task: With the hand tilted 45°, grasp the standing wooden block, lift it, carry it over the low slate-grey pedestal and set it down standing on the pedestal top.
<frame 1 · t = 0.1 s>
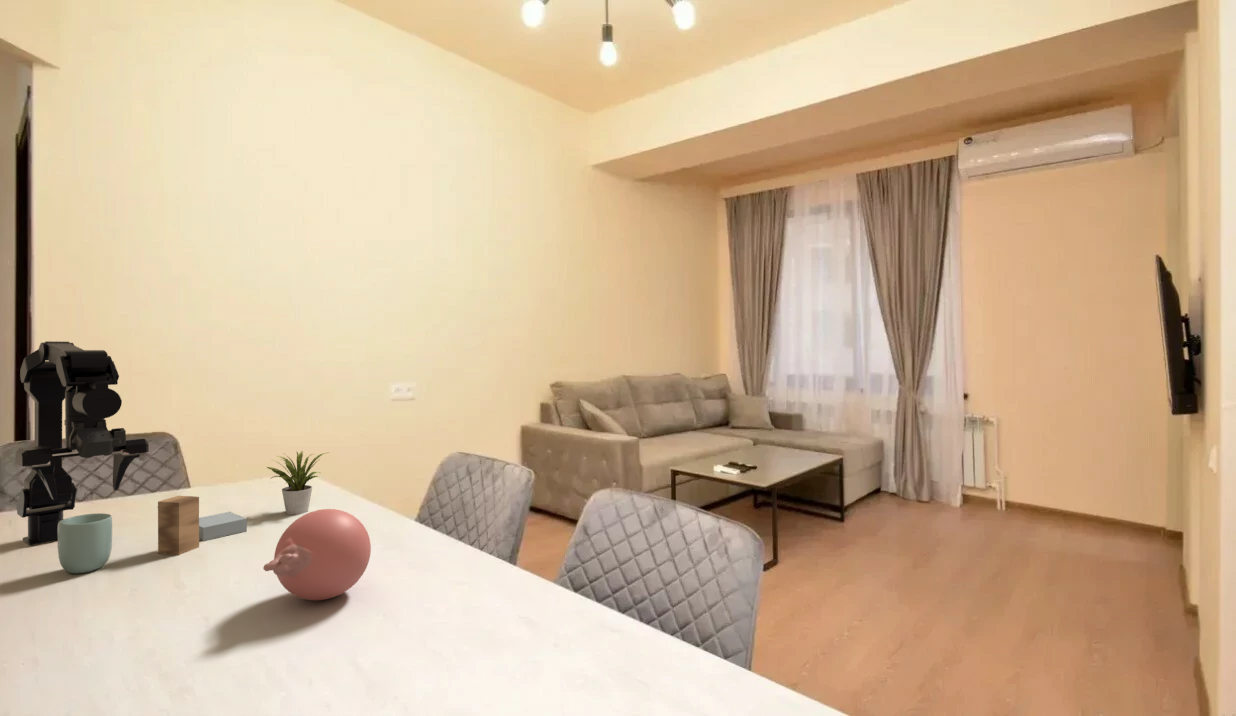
hand: (85, 494, 117), 15 cm above the table, tool pointing down, fingers open, 9 cm apart
pedestal: (217, 532, 141), on the table
wooden block: (178, 550, 129), on the table
cup: (85, 570, 117), on the table
balloon: (313, 602, 105), on the table
house plant: (300, 510, 160), on the table
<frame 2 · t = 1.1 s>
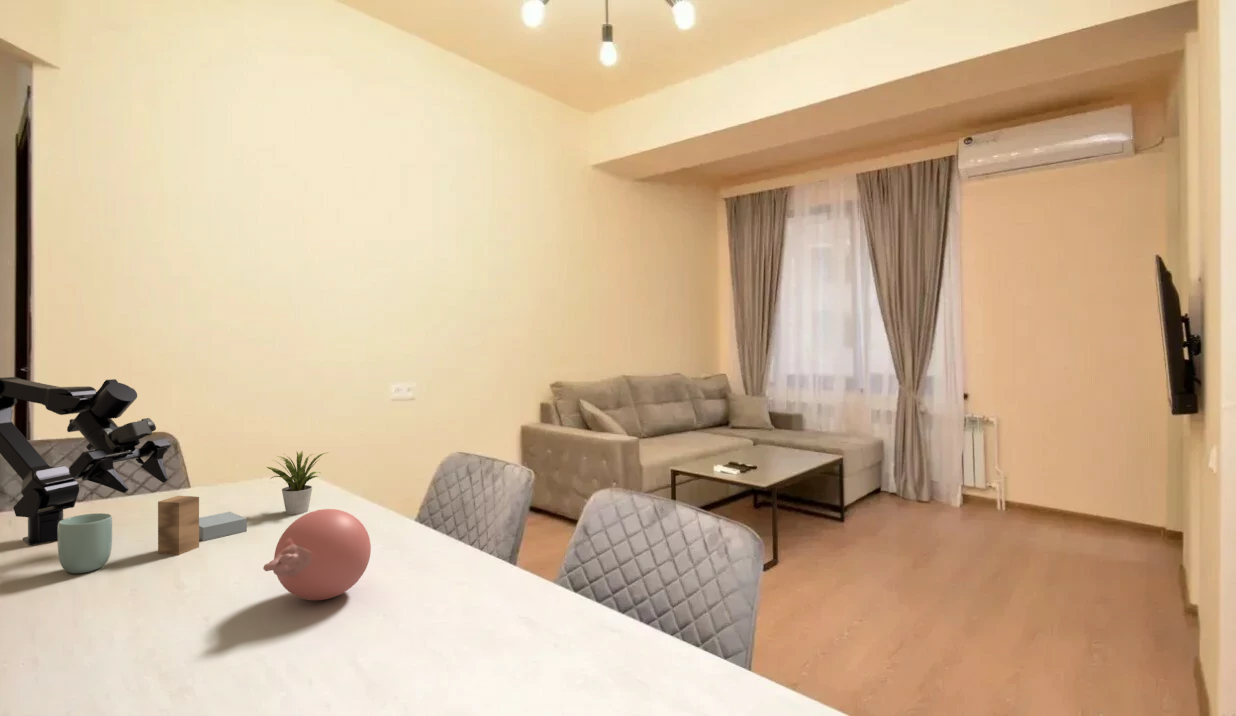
hand: (146, 486, 129), 13 cm above the table, tool tilted 45°, fingers open, 9 cm apart
nothing on the table moved.
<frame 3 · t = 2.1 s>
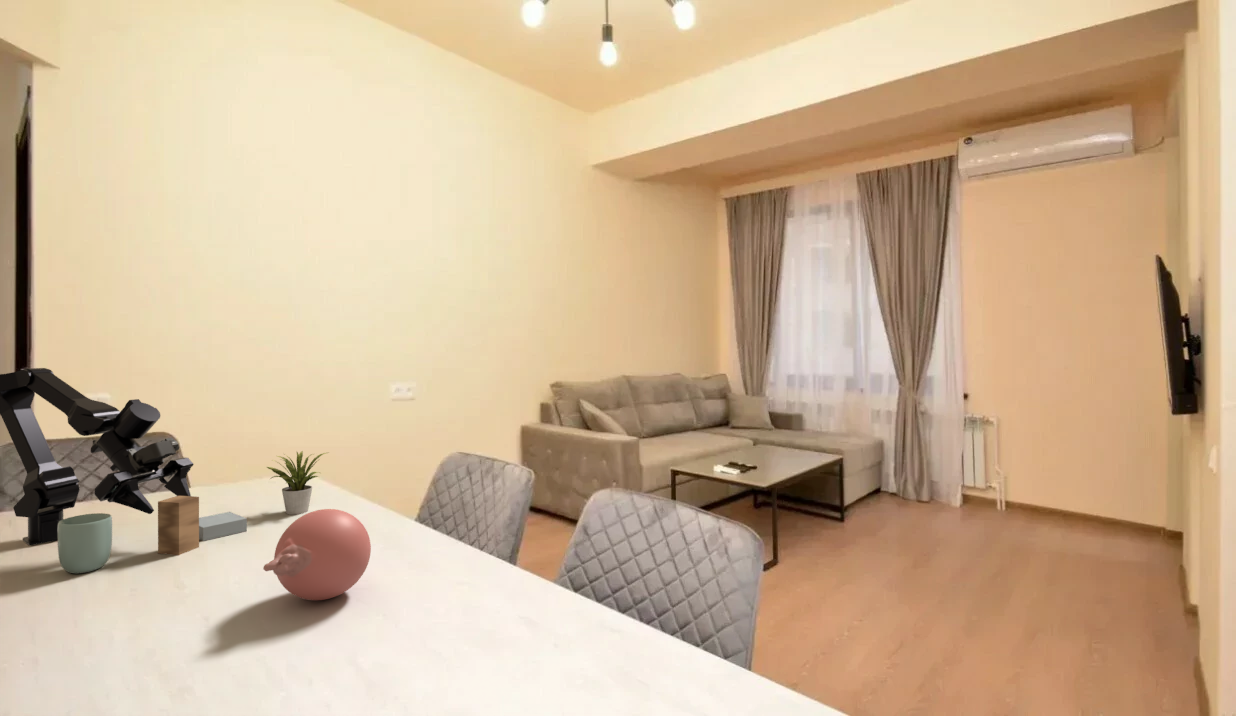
hand: (171, 506, 129), 9 cm above the table, tool tilted 45°, fingers open, 9 cm apart
nothing on the table moved.
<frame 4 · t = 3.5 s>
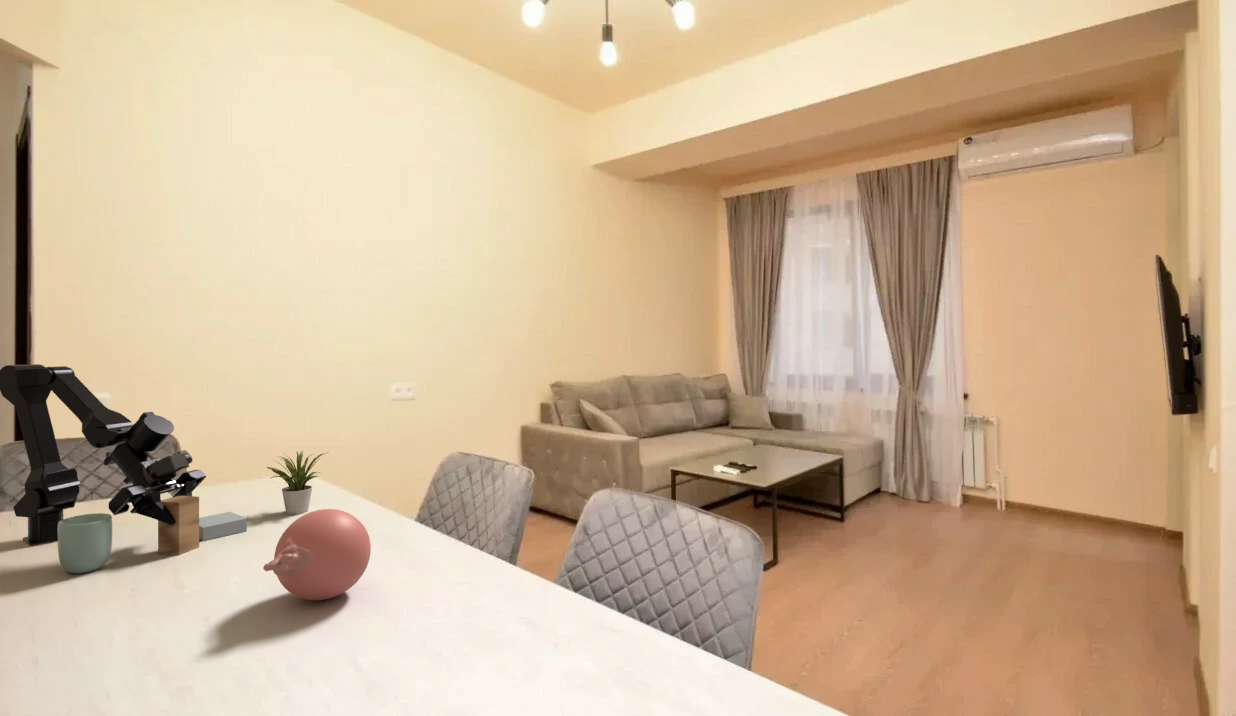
hand: (184, 519, 128), 7 cm above the table, tool tilted 45°, fingers closed on wooden block, 5 cm apart
wooden block: (178, 550, 129), on the table, touching gripper
everything else where it was.
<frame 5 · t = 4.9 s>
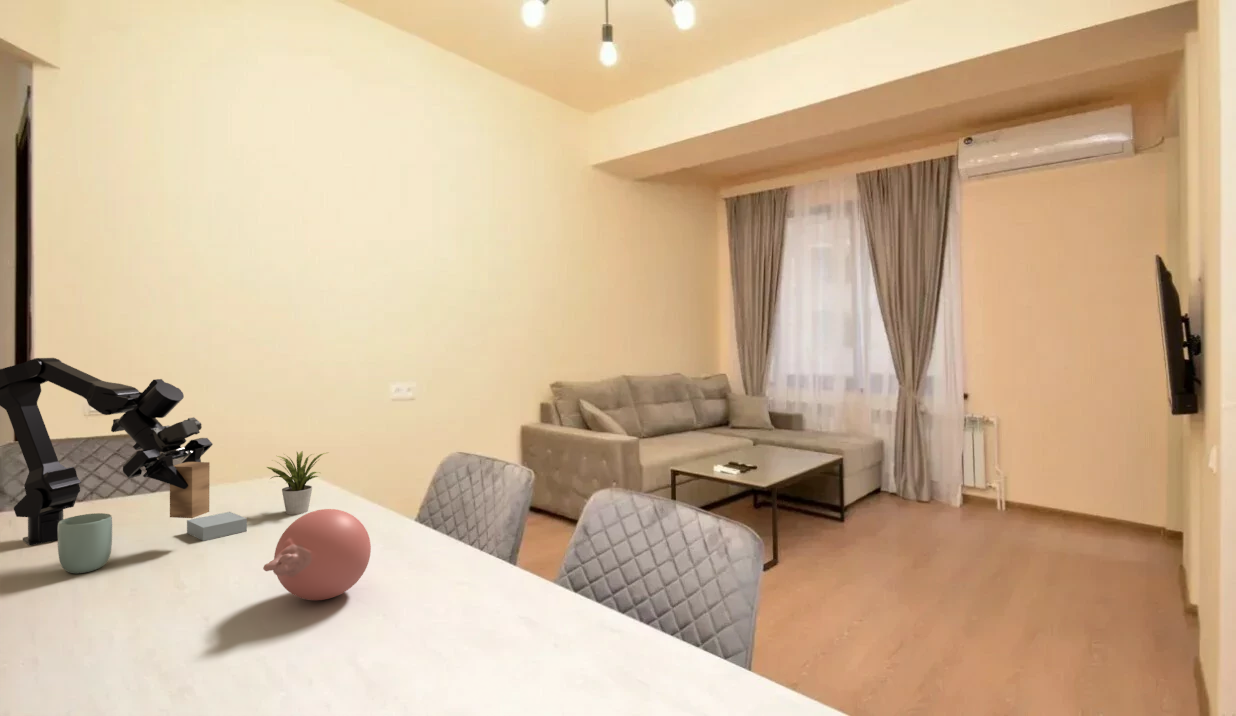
hand: (196, 484, 131), 13 cm above the table, tool tilted 45°, fingers closed on wooden block, 5 cm apart
wooden block: (189, 514, 131), point 7 cm above the table, touching gripper
everything else where it was.
when the fingers open (11 cm above the table, at t = 6.5 s): wooden block drops 1 cm, resting on pedestal.
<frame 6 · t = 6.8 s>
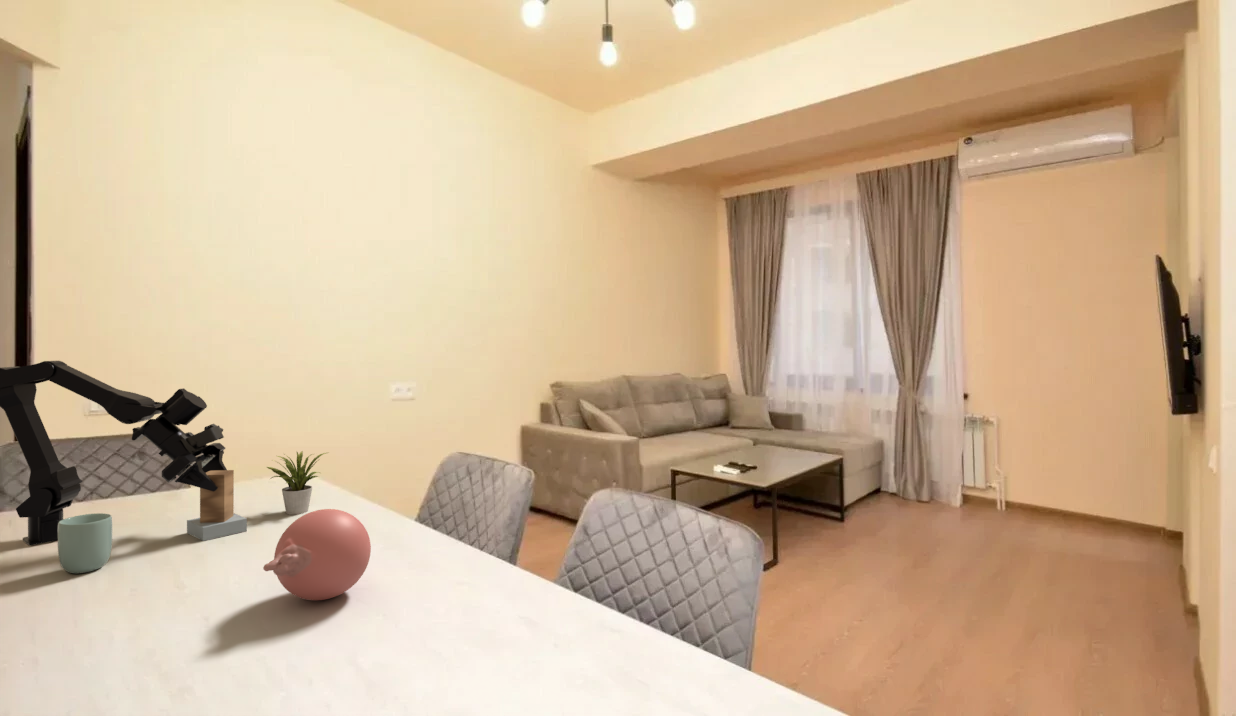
hand: (223, 485, 141), 11 cm above the table, tool tilted 45°, fingers open, 8 cm apart
wooden block: (217, 519, 141), point 3 cm above the table, touching pedestal
everything else where it was.
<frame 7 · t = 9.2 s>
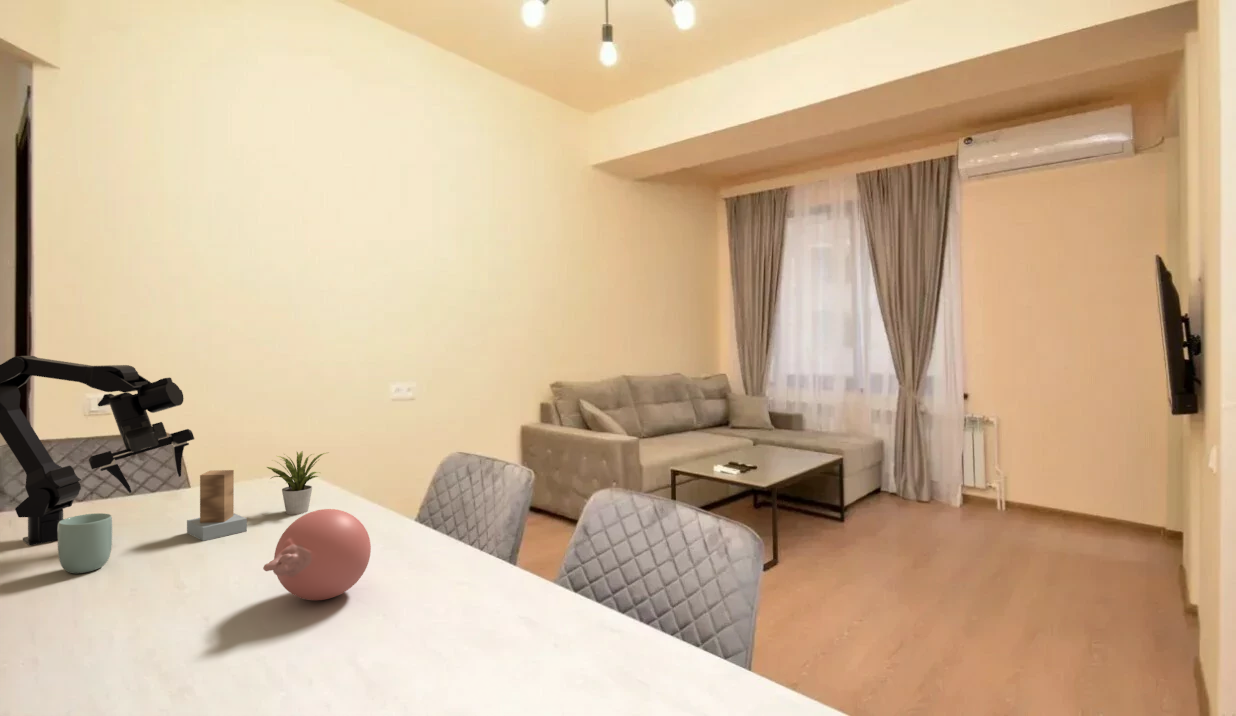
hand: (155, 484, 136), 12 cm above the table, tool tilted 20°, fingers open, 9 cm apart
nothing on the table moved.
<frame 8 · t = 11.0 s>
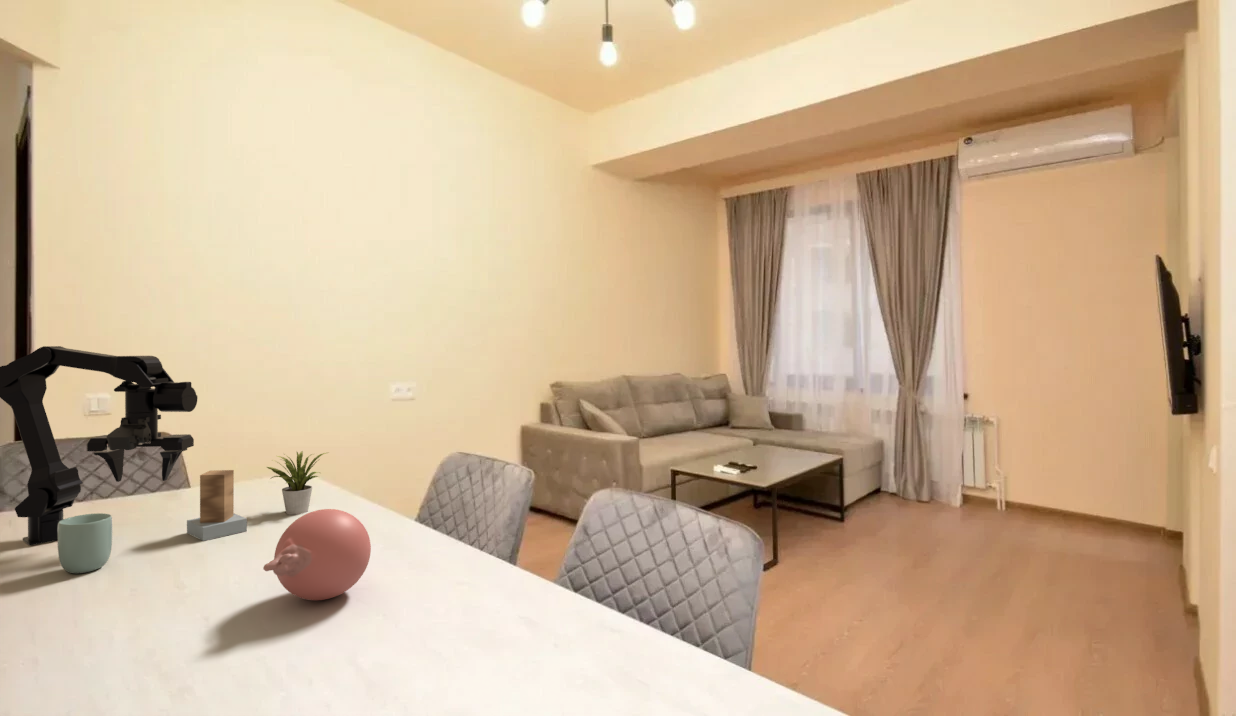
hand: (141, 480, 135), 13 cm above the table, tool pointing down, fingers open, 9 cm apart
nothing on the table moved.
at the end: wooden block inside the target area on the pedestal (0.0 cm from its centre), point 3.0 cm above the pedestal's base; wooden block tilted 0°; the gripper is holding nothing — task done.
